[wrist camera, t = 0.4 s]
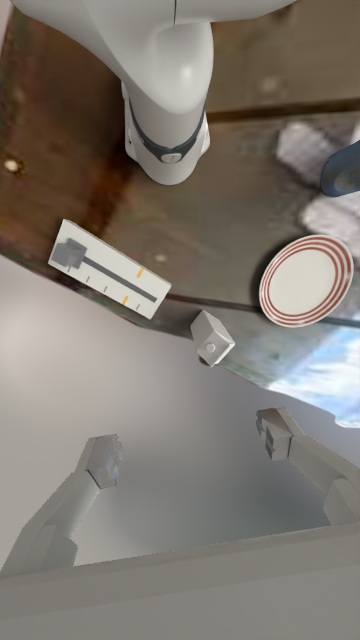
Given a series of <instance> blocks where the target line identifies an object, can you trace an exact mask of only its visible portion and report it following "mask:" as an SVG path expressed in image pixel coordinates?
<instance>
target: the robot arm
mask: <svg viewBox="0 0 360 640" xmlns="http://www.w3.org/2000/svg"><path fill="white" fill-rule="evenodd" d="M10 1H11V2H12V3H13V4H14V5H15V6H16V7H17V8H18V9H19V10H20V11H21V12H22V13H23V14H25V15H27V16H29V17H31V18H33V19H35V20H38V21H40V22H42V23H44V24H46V25H48V26H50V27H53V28H55V29H57V30H58V31H60V32H62V33H64V34H65V35H67V36H69V37H70V38H72V39H73V40H75V41H77V42H78V43H79V44H81V45H82V46H84V47H85V48H87V49H88V50H89V51H90V52H92V53H93V54H94V55H95V56H96V57H98V58H99V59H100V60H101V61H102V62H103V63H104V64H105V65H107V66H108V67H109V68H110V69H111V70H112V71H113V72H114V73H115V74H116V75H117V76H118V77H119V79H120V80H121V81H122V94H123V98H124V99H125V147H126V152H127V154H128V155H129V156H130V157H131V158H132V159H134V160H135V161H137V162H138V163H139V164H140V165H141V167H142V168H143V169H144V171H145V172H146V173H147V175H148V176H149V177H150V178H152V179H153V180H154V181H156V182H158V183H160V184H164V185H175V184H178V183H180V182H182V181H184V180H185V179H186V178H187V177H188V176H189V175H190V174H191V173H192V171H193V170H194V168H195V166H196V163H197V161H198V159H199V158H200V156H201V155H203V154H204V153H205V152H206V150H207V149H208V147H209V144H210V138H209V132H208V125H207V120H206V114H205V104H206V95H207V91H208V87H209V83H210V79H211V75H212V68H213V38H212V31H211V26H210V22H218V21H232V20H246V19H255V18H258V17H260V16H263V15H265V14H268V13H270V12H272V11H275V10H277V9H280V8H282V7H285V6H287V5H289V4H291V3H293V2H295V1H297V0H10ZM130 141H131V144H130V143H129V142H130ZM256 416H257V418H258V419H257V420H256V426H257V430H258V433H259V435H260V437H261V439H262V440H263V441H265V448H266V450H267V452H268V454H269V456H270V458H271V460H272V461H274V460H282V459H288V460H289V461H290V462H291V463H292V464H293V465H294V466H295V467H296V468H298V469H299V470H300V471H301V472H302V473H303V474H304V475H305V476H306V477H307V478H308V479H310V480H311V481H312V482H313V483H314V484H315V485H316V486H317V487H318V488H320V490H321V491H323V492H324V493H325V494H326V495H327V499H326V502H325V504H324V508H323V510H324V512H325V514H326V515H327V517H328V519H329V521H330V522H331V524H332V526H327V527H321V528H314V529H308V530H302V531H295V532H289V533H283V534H276V535H270V536H264V537H257V538H252V539H245V540H239V541H233V542H226V543H219V544H213V545H207V546H200V547H194V548H188V549H182V550H175V551H169V552H163V553H156V554H150V555H143V556H137V557H131V558H124V559H118V560H112V561H105V562H100V563H93V564H86V565H80V566H74V567H73V564H74V561H75V557H76V554H77V550H78V547H77V545H76V544H75V543H74V542H73V541H72V540H71V539H70V538H71V536H72V535H73V533H74V531H75V530H76V528H77V527H78V525H79V524H80V522H81V520H82V519H83V517H84V516H85V514H86V512H87V511H88V509H89V508H90V506H91V504H92V503H93V501H94V500H95V498H96V496H97V495H98V493H99V492H100V489H103V488H108V487H113V486H116V484H117V479H118V475H119V469H118V465H119V464H120V463H121V461H122V455H123V447H122V444H121V442H119V441H118V436H117V434H114V435H107V436H101V437H94V438H89V440H88V441H87V443H86V445H85V448H84V450H83V453H82V455H81V457H80V460H79V463H78V465H77V467H76V469H75V472H74V473H71V474H70V475H69V476H68V478H67V479H66V480H65V481H64V482H63V483H62V485H61V486H60V487H59V488H58V489H57V490H56V491H55V492H54V493H53V494H52V496H51V497H50V498H49V499H48V500H47V501H46V502H45V503H44V505H43V506H42V507H41V508H40V509H39V510H38V511H37V512H36V514H35V515H34V516H33V517H32V518H31V519H30V520H29V521H28V523H27V524H26V525H25V526H24V527H23V528H22V530H21V533H20V534H19V536H18V538H17V540H16V542H15V544H14V546H13V548H12V550H11V552H10V554H9V556H8V558H7V560H6V562H5V563H4V565H3V567H2V570H1V571H0V640H360V468H358V467H357V466H355V465H353V464H352V463H351V462H349V461H348V460H346V459H344V458H343V457H341V456H340V455H338V454H337V453H335V452H334V451H332V450H331V449H329V448H327V447H326V446H325V445H323V444H321V443H320V442H318V441H317V440H315V439H314V438H312V437H311V436H309V435H305V434H304V433H303V432H302V430H301V429H300V428H299V426H298V425H297V423H296V422H295V420H294V419H293V418H292V416H291V415H290V414H289V412H288V411H287V409H286V408H285V407H283V406H282V407H277V408H269V409H264V410H258V411H257V412H256Z"/></svg>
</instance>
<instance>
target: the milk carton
mask: <svg viewBox="0 0 360 640" xmlns="http://www.w3.org/2000/svg"><path fill="white" fill-rule="evenodd" d="M190 328H191V332H192V336H193V339H194V343H195V347H196V351H197V353H198V354H199V355H200V356H201V357H202V358H203V359H204V360H205V361H206V362H207V363H208V364H209V365H210V367H212V366H213V365H214V364H217V363H219V361H220V360H221V359H222V358H223V357H224V356H225V355H226V354H227V353H228V352H229V350H230V349H231V348H232V347H233V346H234V345H235V343H234V341H233V340H232V338H231V337H230V335H229V334H228V332H227V331H226V329H225V328H224V326H223V325H222V323H221V322H220V320H218V319H217V318H215V317H214V316H212V315H211V314H209V313H208V312H206V311H204V310H202V311H201V312H200V314H199V315H198V316H197V318H196V319H195V320H194V322H193V323H192V324H191V325H190Z"/></svg>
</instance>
